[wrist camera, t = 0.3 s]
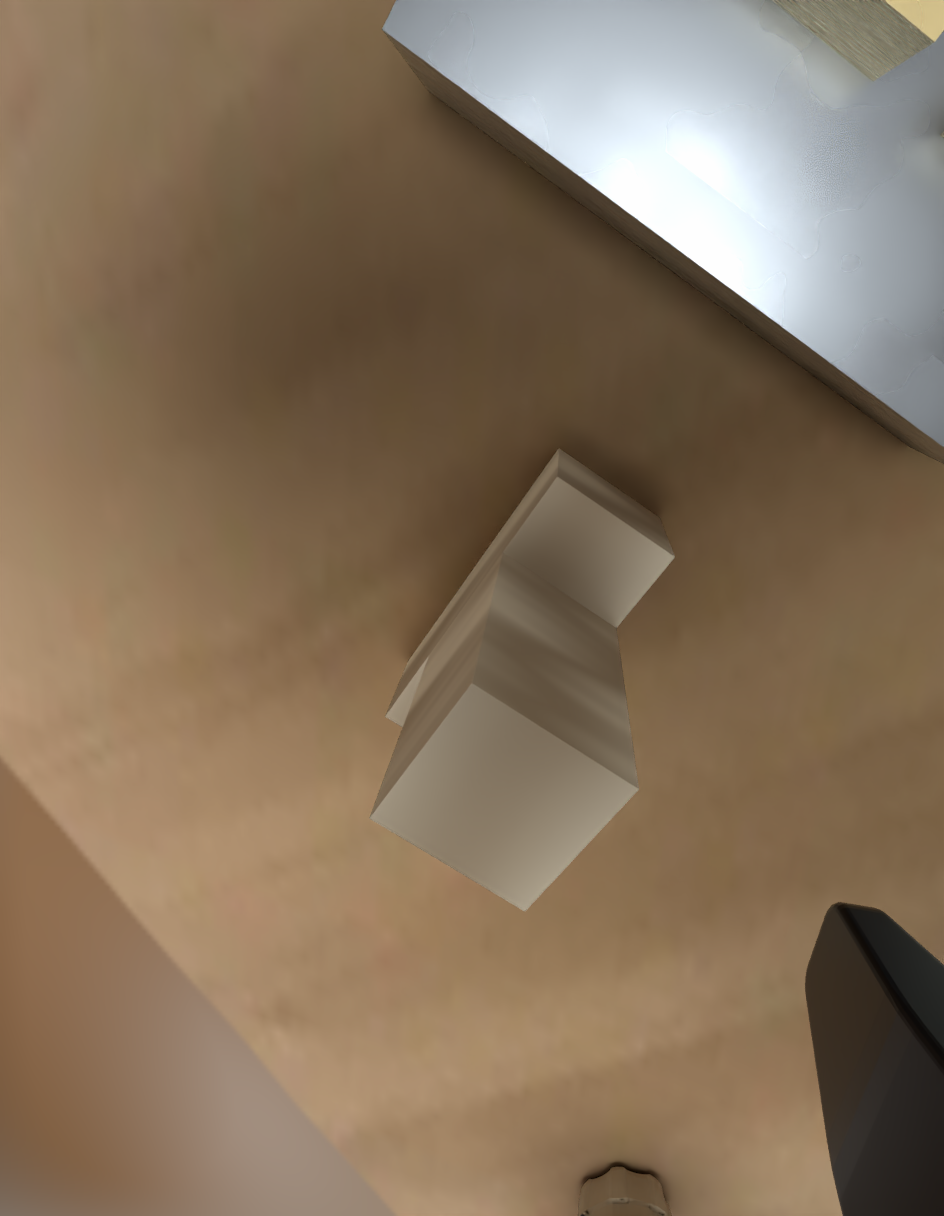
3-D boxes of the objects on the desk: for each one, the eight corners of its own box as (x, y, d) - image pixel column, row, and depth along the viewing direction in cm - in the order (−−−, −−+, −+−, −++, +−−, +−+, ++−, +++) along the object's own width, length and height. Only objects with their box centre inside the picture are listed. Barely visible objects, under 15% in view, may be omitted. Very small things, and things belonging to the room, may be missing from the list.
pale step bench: (659, 517, 20) (727, 694, 11) (499, 718, 22) (459, 982, 14) (558, 447, 19) (551, 576, 11) (408, 661, 22) (310, 896, 13)
